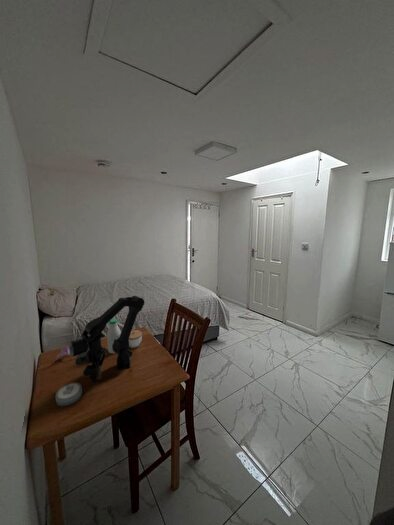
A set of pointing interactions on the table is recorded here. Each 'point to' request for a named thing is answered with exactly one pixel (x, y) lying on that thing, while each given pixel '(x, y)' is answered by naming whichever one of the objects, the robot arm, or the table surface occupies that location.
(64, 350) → the lily
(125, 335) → the robot arm
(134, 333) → the lidded jar
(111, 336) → the milk bottle
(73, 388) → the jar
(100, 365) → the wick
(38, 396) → the table surface
